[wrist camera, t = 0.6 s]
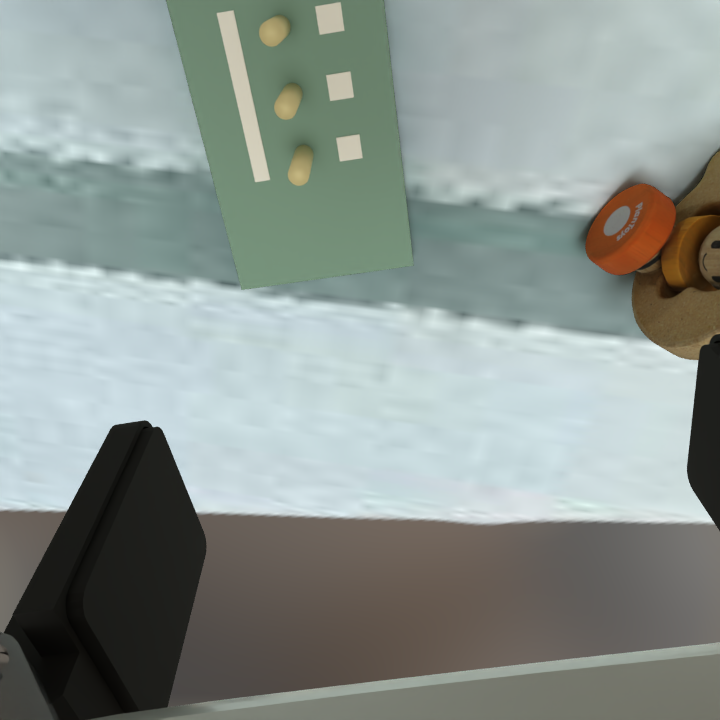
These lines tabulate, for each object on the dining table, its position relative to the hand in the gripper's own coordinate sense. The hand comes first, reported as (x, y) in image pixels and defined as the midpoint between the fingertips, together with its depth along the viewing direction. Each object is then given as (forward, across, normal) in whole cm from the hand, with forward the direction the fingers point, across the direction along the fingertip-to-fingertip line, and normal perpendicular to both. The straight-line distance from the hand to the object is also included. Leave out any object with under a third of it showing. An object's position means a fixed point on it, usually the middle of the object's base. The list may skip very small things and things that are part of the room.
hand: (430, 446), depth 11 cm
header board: (+27, +4, -3) cm, 28 cm away
